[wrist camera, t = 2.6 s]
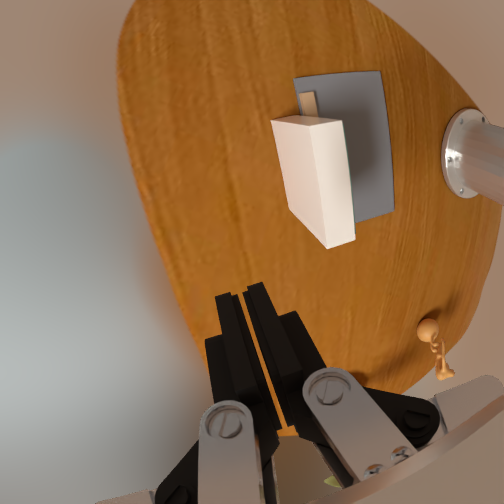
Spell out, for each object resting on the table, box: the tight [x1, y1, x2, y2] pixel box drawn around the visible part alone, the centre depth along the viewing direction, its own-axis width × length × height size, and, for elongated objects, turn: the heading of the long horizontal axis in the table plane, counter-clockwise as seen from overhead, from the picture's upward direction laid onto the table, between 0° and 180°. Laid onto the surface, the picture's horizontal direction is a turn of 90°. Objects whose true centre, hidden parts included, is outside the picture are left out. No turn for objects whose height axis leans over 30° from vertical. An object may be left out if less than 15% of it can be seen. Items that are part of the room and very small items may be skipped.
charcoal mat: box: [293, 71, 394, 223], centre depth 27 cm, size 10×16×1 cm, turn 13°
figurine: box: [417, 318, 455, 380], centre depth 39 cm, size 8×6×12 cm
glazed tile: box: [271, 115, 356, 249], centre depth 23 cm, size 3×9×9 cm, turn 13°
